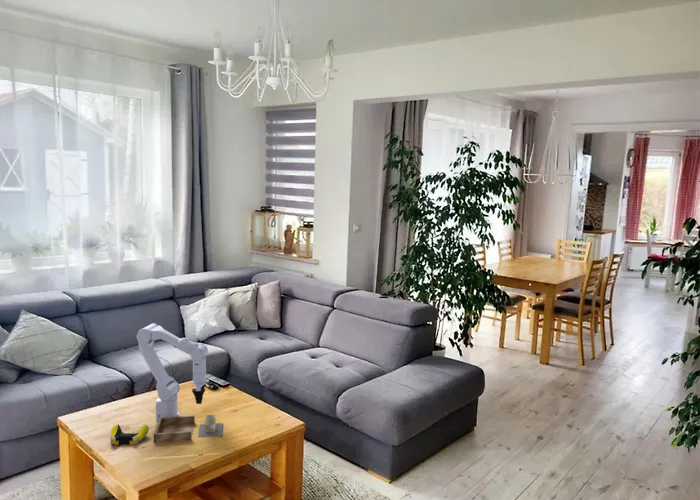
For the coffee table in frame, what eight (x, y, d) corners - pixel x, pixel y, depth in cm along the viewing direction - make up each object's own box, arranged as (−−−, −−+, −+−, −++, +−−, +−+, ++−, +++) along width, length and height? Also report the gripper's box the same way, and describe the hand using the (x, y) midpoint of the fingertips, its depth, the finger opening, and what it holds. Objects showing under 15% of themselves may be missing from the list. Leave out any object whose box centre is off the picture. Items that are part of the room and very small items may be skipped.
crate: (153, 443, 220) (153, 434, 219) (159, 425, 235) (159, 417, 235) (191, 441, 223) (191, 432, 222) (194, 423, 238) (194, 415, 238)
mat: (197, 438, 225) (197, 437, 225) (200, 425, 237) (200, 424, 237) (221, 436, 227) (221, 435, 227) (222, 424, 239) (222, 423, 239)
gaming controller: (114, 435, 226) (105, 446, 216) (113, 422, 226) (104, 434, 216) (150, 434, 227) (142, 446, 217) (149, 422, 227) (142, 433, 217)
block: (205, 432, 229) (205, 419, 229) (206, 428, 233) (206, 415, 233) (214, 431, 230) (214, 418, 229) (215, 427, 234) (215, 414, 233)
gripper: (207, 377, 233) (207, 406, 235) (209, 365, 247) (209, 393, 249) (190, 377, 232) (191, 407, 234) (193, 366, 246) (194, 394, 248)
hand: (199, 400), depth 241 cm, fingers open, 7 cm apart
